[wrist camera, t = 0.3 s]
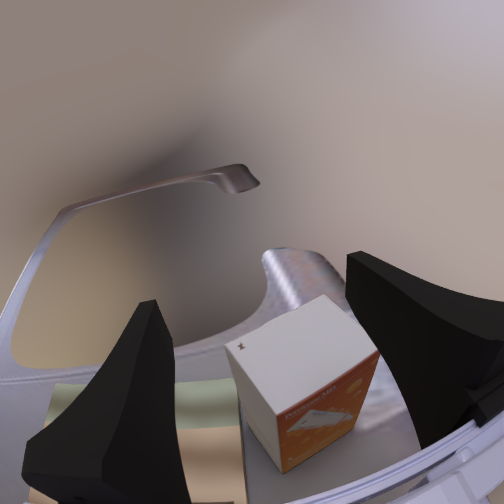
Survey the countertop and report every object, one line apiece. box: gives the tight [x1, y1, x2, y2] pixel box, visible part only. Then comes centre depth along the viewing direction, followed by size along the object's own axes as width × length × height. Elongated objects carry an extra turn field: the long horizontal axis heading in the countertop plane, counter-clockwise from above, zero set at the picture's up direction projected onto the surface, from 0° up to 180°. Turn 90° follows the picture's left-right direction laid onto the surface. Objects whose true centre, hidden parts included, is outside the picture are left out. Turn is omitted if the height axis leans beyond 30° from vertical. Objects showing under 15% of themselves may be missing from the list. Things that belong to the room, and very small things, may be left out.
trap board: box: [28, 378, 249, 504], centre depth 20 cm, size 23×22×2 cm
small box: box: [225, 295, 380, 474], centre depth 22 cm, size 8×6×13 cm
